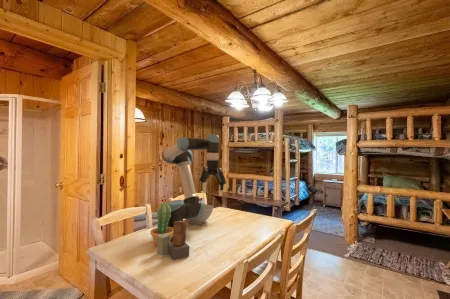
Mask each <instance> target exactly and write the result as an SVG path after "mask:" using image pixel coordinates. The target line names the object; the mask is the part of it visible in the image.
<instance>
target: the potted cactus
mask: <svg viewBox="0 0 450 299" xmlns="http://www.w3.org/2000/svg"><path fill="white" fill-rule="evenodd" d="M167 203H168V202H161V203H160V204H159V205H158V207H157V208H156V218H157V227H155V228H151V230H150V231H149V234H150V235H151V238H152V239H153V241H154V242H155V246H157V236H158V235H161V234H164V233H165V234H167V235H170V241H172V240H171V238H172V237H173V228H172V227H168V222H169V219H170V217H171V208H170V207H169V205H168V204H167Z"/></svg>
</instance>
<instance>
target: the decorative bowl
mask: <svg viewBox="0 0 450 299" xmlns="http://www.w3.org/2000/svg"><path fill="white" fill-rule="evenodd" d="M213 210H214V206H213V205H211V204H206V203H204V211H203V214H202V215H201V216H199V217H194V218H188V219H184V221H186V222H188V224H190V225H194V226H195V225H196V226H198V225H202V224H204V223H205V222H206V221H207V220H208V219H209V218H210V217H211V215H212V213H213Z"/></svg>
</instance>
